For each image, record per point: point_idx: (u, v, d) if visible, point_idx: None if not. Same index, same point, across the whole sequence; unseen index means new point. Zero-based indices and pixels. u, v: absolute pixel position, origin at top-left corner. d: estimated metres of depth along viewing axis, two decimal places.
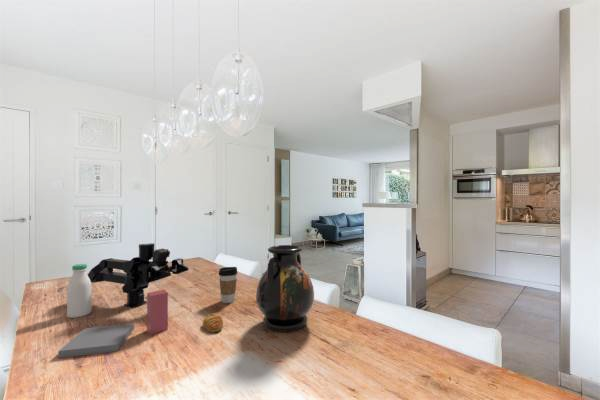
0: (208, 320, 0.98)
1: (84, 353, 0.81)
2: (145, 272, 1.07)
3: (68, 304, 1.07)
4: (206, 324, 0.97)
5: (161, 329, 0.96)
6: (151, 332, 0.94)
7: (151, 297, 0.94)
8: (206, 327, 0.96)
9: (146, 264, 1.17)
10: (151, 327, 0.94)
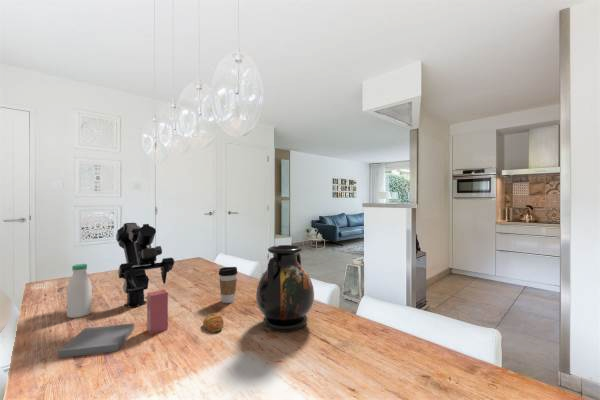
0: (209, 320, 0.98)
1: (84, 353, 0.81)
2: (119, 270, 1.01)
3: (68, 304, 1.07)
4: (207, 324, 0.97)
5: (161, 329, 0.96)
6: (151, 332, 0.94)
7: (151, 297, 0.94)
8: (207, 327, 0.96)
9: (139, 248, 1.10)
10: (151, 327, 0.94)
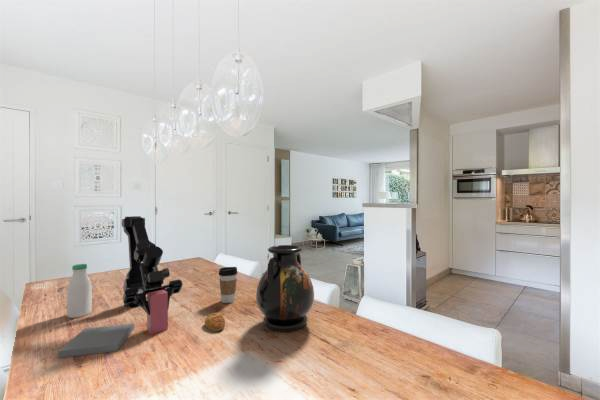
0: (210, 319, 0.98)
1: (84, 353, 0.81)
2: (124, 296, 0.94)
3: (68, 304, 1.07)
4: (208, 323, 0.97)
5: (161, 329, 0.96)
6: (151, 332, 0.94)
7: (151, 297, 0.94)
8: (208, 326, 0.97)
9: (145, 270, 1.02)
10: (151, 327, 0.94)
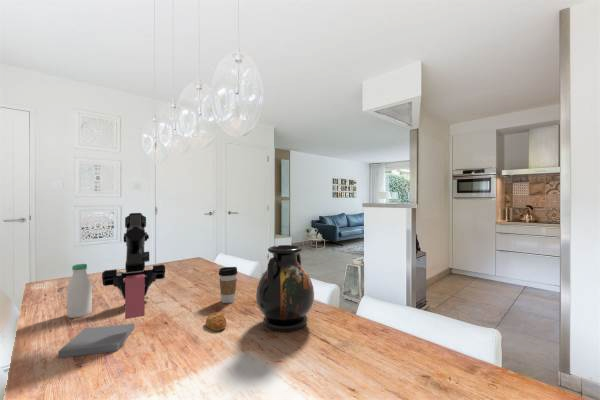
0: (211, 319, 0.99)
1: (84, 353, 0.81)
2: None
3: (68, 304, 1.07)
4: (210, 323, 0.98)
5: (137, 315, 0.91)
6: (126, 317, 0.90)
7: (126, 280, 0.90)
8: (210, 326, 0.97)
9: (129, 253, 0.99)
10: (126, 312, 0.90)
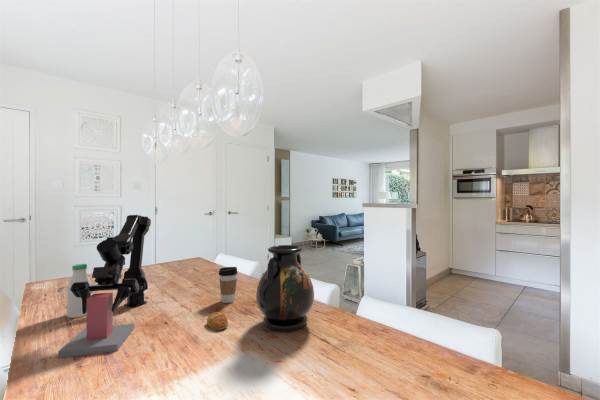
0: (213, 318, 0.99)
1: (84, 353, 0.81)
2: None
3: (68, 304, 1.07)
4: (211, 322, 0.98)
5: (99, 336, 0.86)
6: (87, 338, 0.86)
7: (87, 299, 0.86)
8: (211, 325, 0.98)
9: (105, 265, 0.97)
10: (87, 332, 0.86)
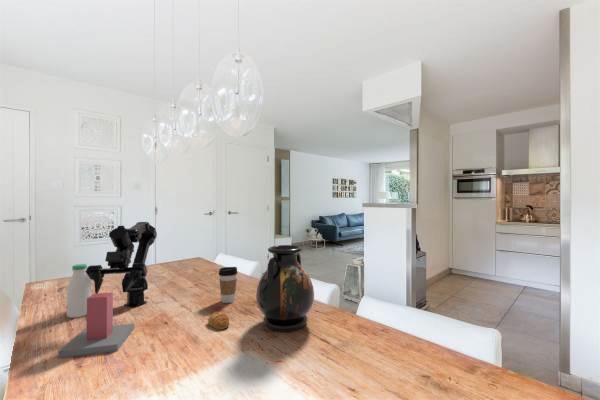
0: (214, 318, 1.00)
1: (84, 353, 0.81)
2: None
3: (68, 304, 1.07)
4: (213, 322, 0.99)
5: (99, 336, 0.86)
6: (87, 338, 0.86)
7: (87, 299, 0.86)
8: (213, 325, 0.98)
9: (116, 251, 1.06)
10: (87, 332, 0.86)
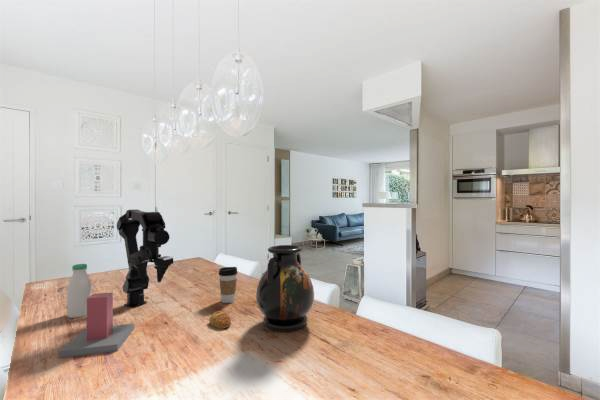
0: (216, 317, 1.00)
1: (84, 353, 0.81)
2: None
3: (68, 304, 1.07)
4: (215, 321, 0.99)
5: (99, 336, 0.86)
6: (87, 338, 0.86)
7: (87, 299, 0.86)
8: (215, 324, 0.99)
9: (147, 242, 1.09)
10: (87, 332, 0.86)
